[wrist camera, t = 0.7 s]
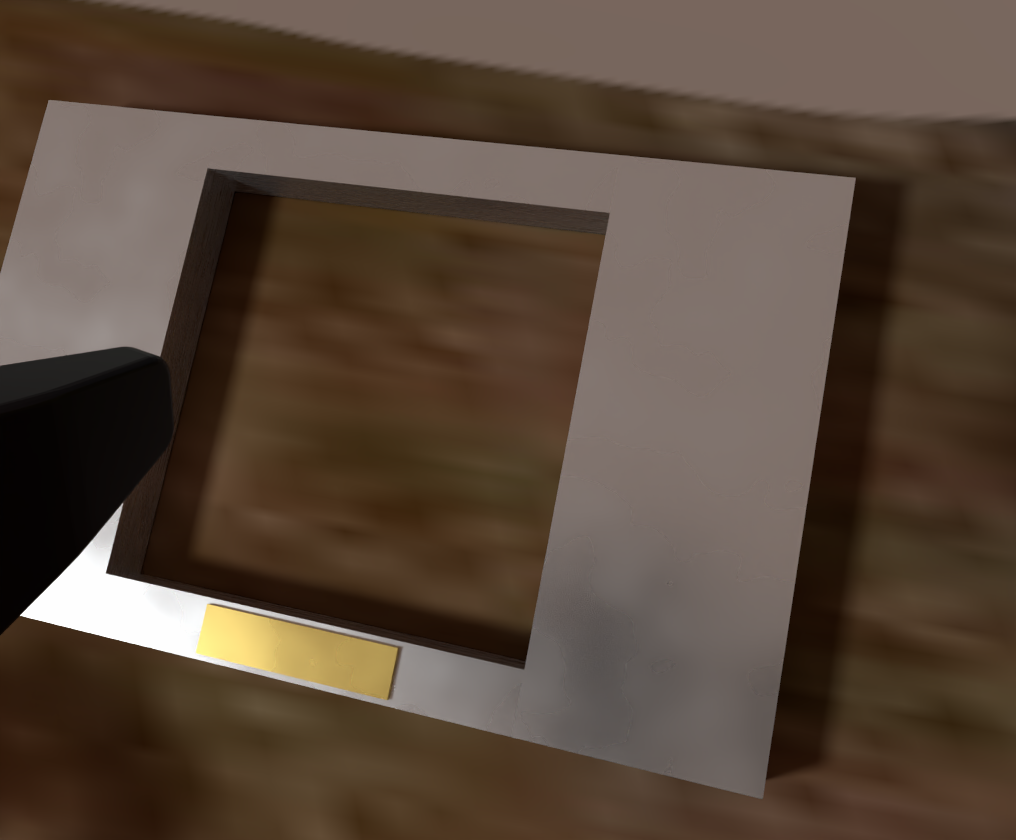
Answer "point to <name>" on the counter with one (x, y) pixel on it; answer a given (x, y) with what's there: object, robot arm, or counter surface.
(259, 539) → the counter surface
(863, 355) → the counter surface
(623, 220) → the plate
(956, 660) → the counter surface
